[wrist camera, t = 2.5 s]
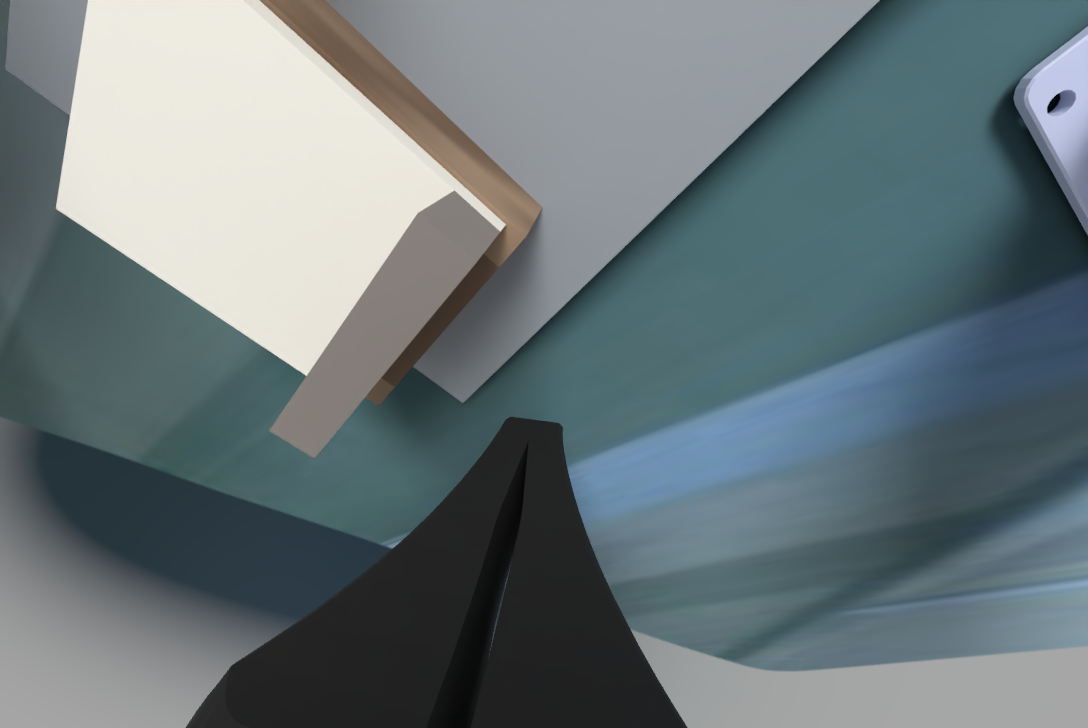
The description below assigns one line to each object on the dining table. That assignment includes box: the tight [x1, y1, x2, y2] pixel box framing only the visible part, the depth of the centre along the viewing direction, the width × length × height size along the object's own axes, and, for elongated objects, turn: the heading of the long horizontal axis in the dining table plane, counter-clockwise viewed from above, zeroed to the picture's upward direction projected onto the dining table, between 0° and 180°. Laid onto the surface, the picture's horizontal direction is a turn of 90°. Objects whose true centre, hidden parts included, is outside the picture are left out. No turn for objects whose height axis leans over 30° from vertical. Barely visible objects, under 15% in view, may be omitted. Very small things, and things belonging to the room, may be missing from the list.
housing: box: [260, 0, 542, 406], centre depth 11 cm, size 9×7×3 cm
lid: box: [56, 0, 506, 458], centre depth 9 cm, size 8×7×3 cm
